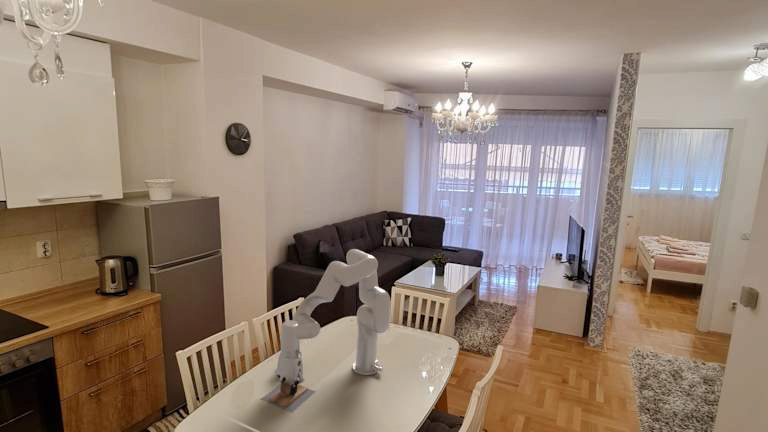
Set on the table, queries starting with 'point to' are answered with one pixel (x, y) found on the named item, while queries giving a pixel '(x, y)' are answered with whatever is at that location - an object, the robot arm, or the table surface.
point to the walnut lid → (287, 394)
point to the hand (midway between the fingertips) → (288, 391)
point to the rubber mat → (295, 403)
